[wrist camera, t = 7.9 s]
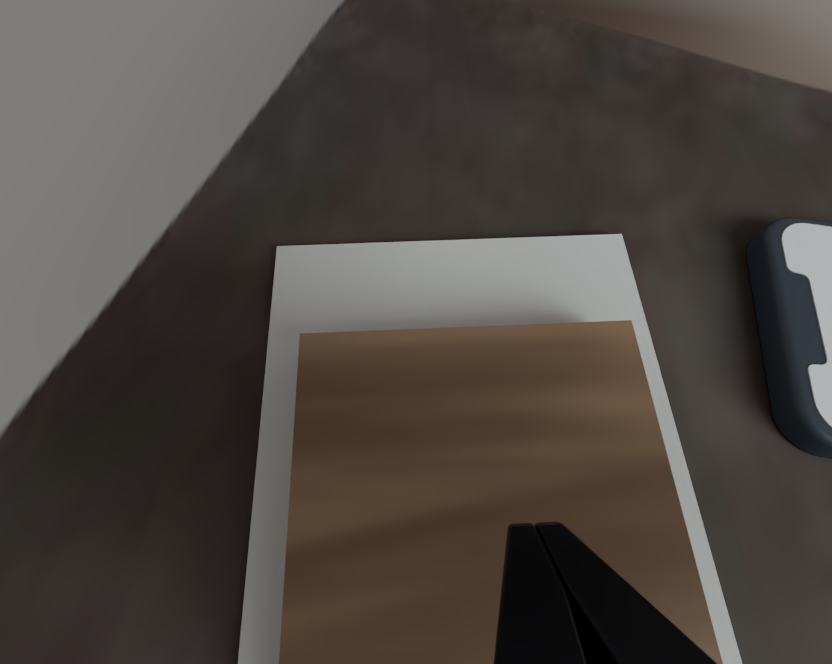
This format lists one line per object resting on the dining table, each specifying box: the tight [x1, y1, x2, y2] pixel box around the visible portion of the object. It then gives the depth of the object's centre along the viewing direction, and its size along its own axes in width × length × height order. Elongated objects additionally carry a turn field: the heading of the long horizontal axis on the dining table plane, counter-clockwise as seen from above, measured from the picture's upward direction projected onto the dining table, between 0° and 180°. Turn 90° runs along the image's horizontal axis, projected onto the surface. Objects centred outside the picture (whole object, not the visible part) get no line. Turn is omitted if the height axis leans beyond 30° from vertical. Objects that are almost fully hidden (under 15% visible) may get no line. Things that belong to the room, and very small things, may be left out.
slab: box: [279, 320, 723, 664], centre depth 13 cm, size 2×10×10 cm
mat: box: [238, 234, 742, 664], centre depth 13 cm, size 22×13×1 cm, turn 3°
